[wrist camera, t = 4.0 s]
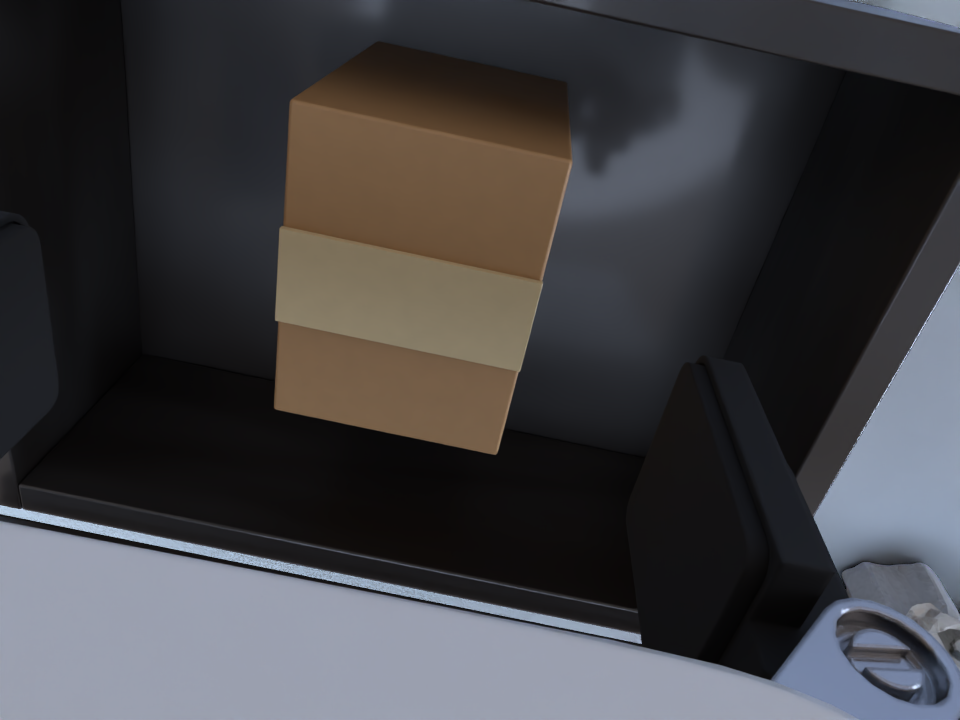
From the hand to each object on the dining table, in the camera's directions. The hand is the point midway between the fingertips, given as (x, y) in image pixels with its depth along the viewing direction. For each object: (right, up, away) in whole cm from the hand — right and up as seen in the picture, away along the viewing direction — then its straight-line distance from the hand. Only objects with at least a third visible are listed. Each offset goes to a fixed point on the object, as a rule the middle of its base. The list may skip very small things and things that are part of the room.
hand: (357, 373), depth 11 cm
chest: (+1, +4, +9) cm, 10 cm away
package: (+1, +5, +8) cm, 9 cm away
